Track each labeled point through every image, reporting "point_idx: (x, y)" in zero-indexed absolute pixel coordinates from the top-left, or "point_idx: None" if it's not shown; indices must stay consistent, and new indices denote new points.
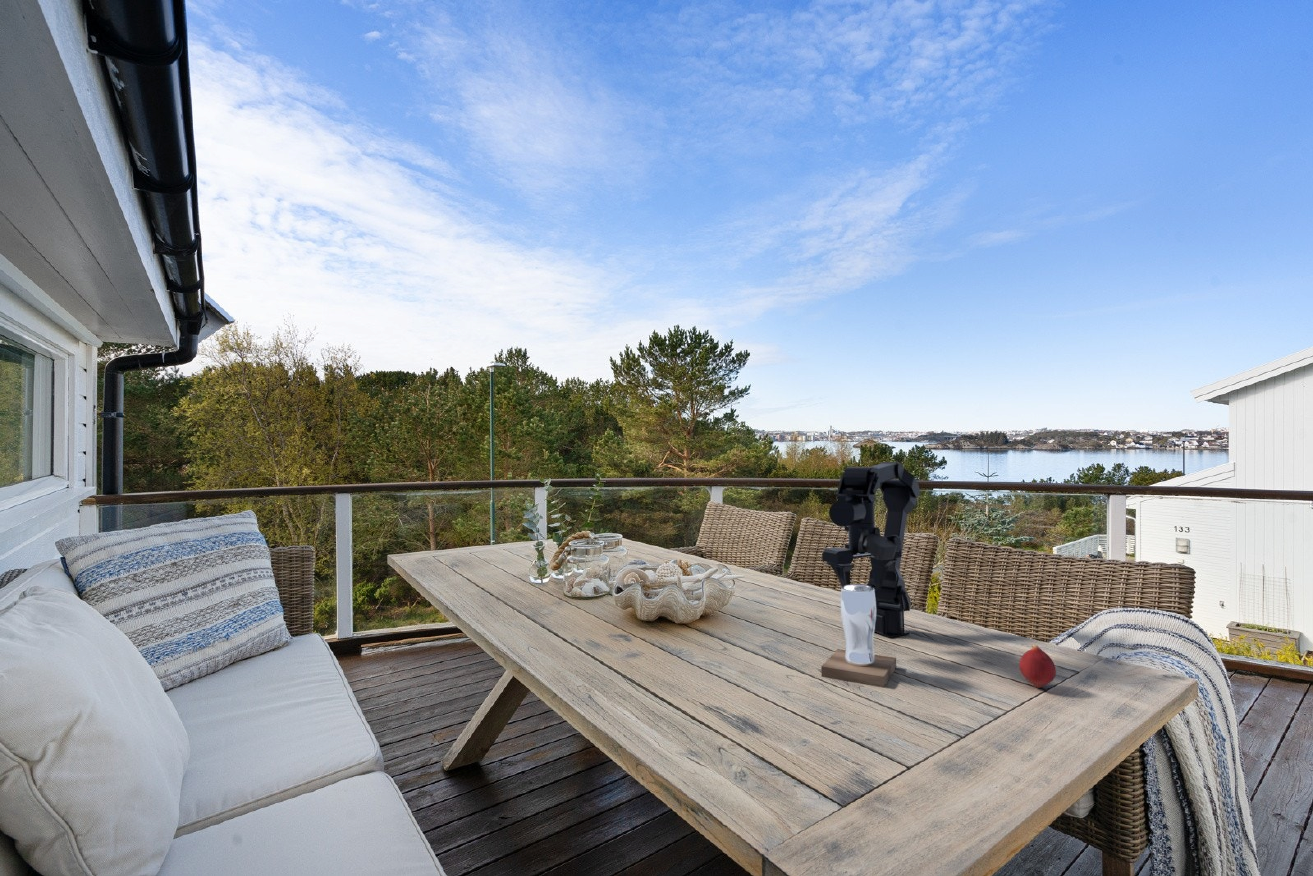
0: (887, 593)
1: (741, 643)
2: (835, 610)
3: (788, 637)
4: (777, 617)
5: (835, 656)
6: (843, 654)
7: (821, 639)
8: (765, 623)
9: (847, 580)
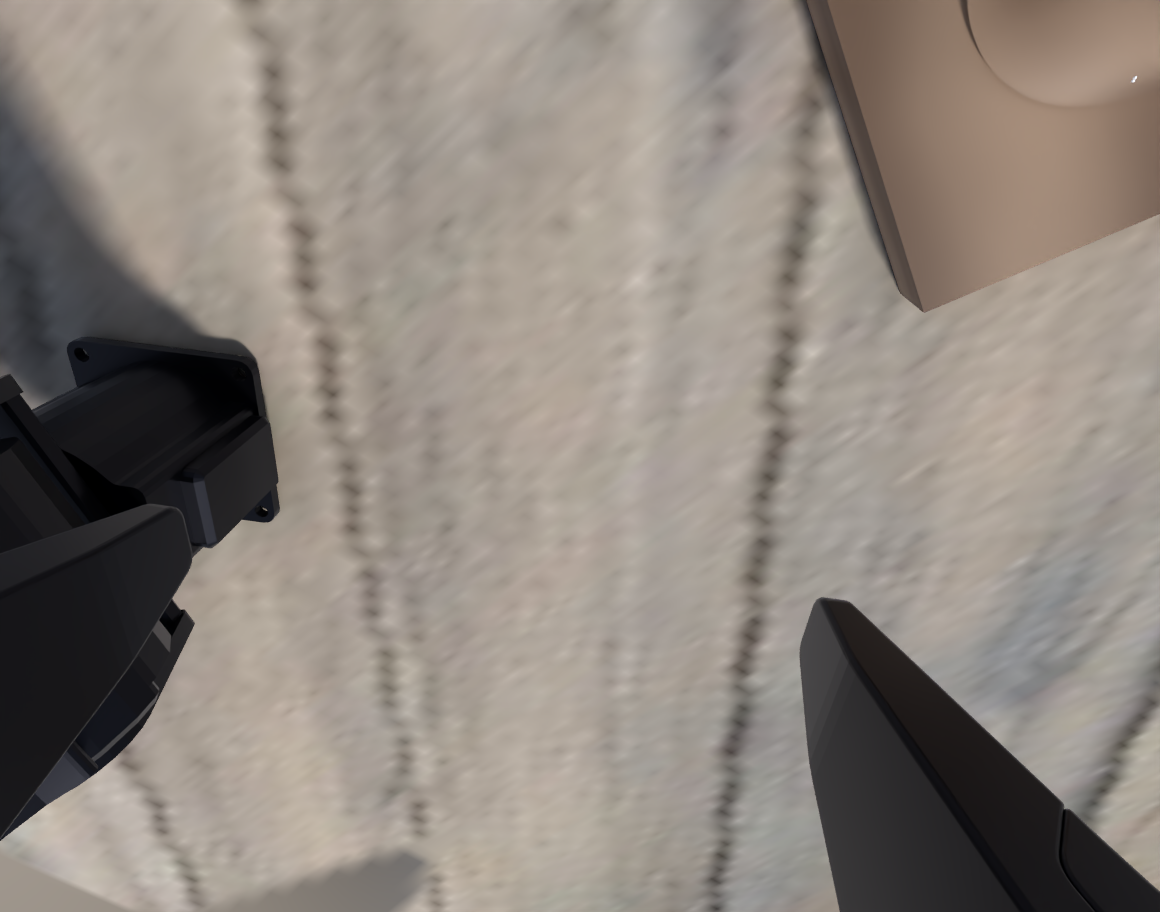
0: (4, 543)
1: (1057, 774)
2: (216, 806)
3: (771, 703)
4: (550, 884)
5: (1125, 192)
6: (1025, 188)
7: (648, 588)
8: (673, 869)
9: (1043, 798)
